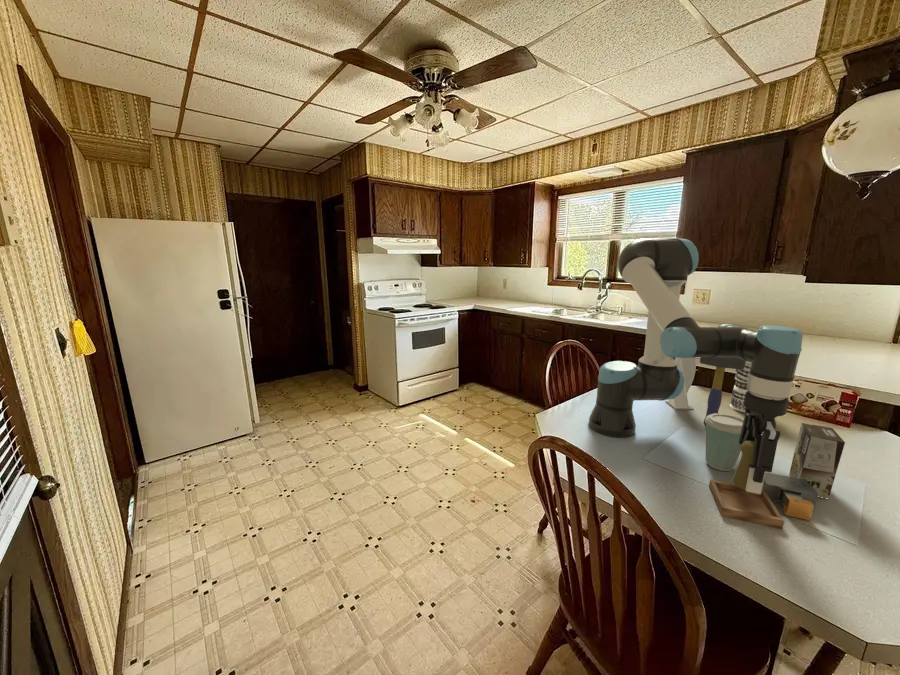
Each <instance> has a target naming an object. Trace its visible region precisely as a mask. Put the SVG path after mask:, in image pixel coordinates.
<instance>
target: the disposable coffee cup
mask: <svg viewBox="0 0 900 675" xmlns="http://www.w3.org/2000/svg"><path fill="white" fill-rule="evenodd" d="M705 417H706V416H705ZM704 419H705V418H704ZM743 421H744V417H740V416H737V415H733V414H729V413H719V412H718V413H714V414H710V415H708V416H707V417H706V419H705V422H706V427H705V461H706V462H707V463H706V464H707V465H708V464H709V465H710V468H711V467H712V468H713V469H716V470H718V469H719V471H723V472H729V471H732V470H733V469H734V468H735V466H736V463H737V461H738V459H739V458H740V454H741V445H742V444H739V438H740V434H741V430H742V425H743ZM709 465H708V466H709Z"/></svg>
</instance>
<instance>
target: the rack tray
mask: <svg viewBox="0 0 900 675" xmlns="http://www.w3.org/2000/svg"><path fill="white" fill-rule="evenodd" d="M708 488H709V490H710V492H711V496H712V498H713V499H714V502H715V503H714V504H715V505H716V507H717V509H718V512H719V514H720V516H723V517H727V518H731V519H734V520H740V521H745V522H749V523H754V524H758V525H761V526H765V527H766V526H767V527H771V528H775V529H780V530H783V527H784V523H785V519H784V518H783V516H782V515H781V514H780V512H779V510H778V509H777V507H776V506H775V504H774V502H772V501H771V499H770V498H769V496H768V495H767V493H766V492H765V491H763V492H761V494H757V493H752V492H747V491H746V490H744V489H742V488H739V487H738V486H736V485H735V484H734V483H729V482H725V481H720V480H715V479H709V484H708Z"/></svg>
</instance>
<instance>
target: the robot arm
mask: <svg viewBox="0 0 900 675" xmlns="http://www.w3.org/2000/svg"><path fill="white" fill-rule="evenodd" d="M698 264H699V251H698V248H697V246H696V245H695V244H694V243H693V241H691V240H689V239H687V238H678V237H676V238H675V237H672V238H665V237H664V238H648V237H647V238H639V239H636V240H633V241H631V242H630V243H628V244H627V245H626V246H624V247H623V249H622V250H621V252H620V254H619V256H618V259H617V268H618V272H619V274H620V276H621V279H623V281H624V282H626V283H627V284H630V285H631V286H632V288H633V289H634V291H635V292H636V294H637V295H638V297H639V298H640V300H641V301H642V303H643V304H644V306H645V307H646V309H647V311H648V312H647V322H646V331H645V333H646V334H645V342H644V352H643V356H641V357H640V358H639V359H638V363H637V364H638V365H637V364H636V363H634V362H631V361H629V360H628V361H627V360H624V361H623V360H613V361H608V362H605V363H603V364H602V365H601V366H600V368H599V373H598V376H597V388H596V400H595V401H596V402H595V405H594V407H593V409H592V411H591V413H590V415H589V416H588V417H589V418H588V426H589V425H590V426H589V427H590V428H591V429H592V430H593V431H595V432H597V433H599V434H601V435H604V436H608V437H613V438H628V437H631V436H633V435H635V433H636V429H637V428H636V427H637V426H636V420H635V416H634V413H633V412H634V411H633V408H634V407H633V406H634V405H633V404H634V401H667V400H668V401H669V400H670V399H674V398H676V397H677V396H679V395H680V393H681V392H682V390H683V387H684V376H682V375H683V372H682V371H681V369H680V368H678V367H677V365H678V363H677V362H676V361H675V358H696V359H697V358H699V359H700V357H735V358H739V359H742V360H745V361H748V362H751V363H752V364H751V369H750V372H749V377H748V382H747V387H746V388H747V390H748V391H747V392H746V394H745V399H744V406H745V407H746V408H745V412H744V417H743V418H744V421H743V425H742V430H741V434H740V438H739V444H742V443H743V442H745V441H755V443H754V456H753V465H751V464H749V467H750V470H749V474H748V479H747V484H746V489H745V490H746V491H747V492H752V493H757V494H761V491H762V486H763V482H764V477H765V473H766V472H767V473H772V472H773V468H774V463H775V462H774V461H775V457H776V453H777V452H776V451H777V446H778V442H779V439H780V437H781V431H780V430H775V429H776V424H777V423H776V418H778V417H782V416H784V415H786V414H787V412H788V408H789V407H788V405H789V402H790V400H789V399H788V398H790V396H791V392H792V387H793V388H794V387H795V385H796V384H795V382H794V380H795V375H796V371H797V366H798V362H799V358H800V356H801V353H802V350H803V349H802V347H803V346H802V344H803V337H804V334H803V332H802V331H801V330H800V329H798V328H796V327H792V326H783V325H778V324H776V325H775V324H773V325H772V324H767V325H765V324H764V325H761V326H760V327H759V328H758V329H757V330H756V329H753V328H750V327H745V326H742V325H740V324H731V323H722V324H720V325H719V326H700V325H699V324H698V322H696V320H695V319H694V318H693V317H692V316H691V314H690V313H689V312H688V310H687V309H686V308H685V306H684V305H683V304H682V302H681V301H680V298H681V287H682V286H683V285H684V284H686V282H688V276H690V275H691V274H694V272H696V269H697V268H698ZM742 454H743V453H742V451H741V452H740V454H739V458H738V459H739V461H738V463H739V462H740V459H741V457H742Z"/></svg>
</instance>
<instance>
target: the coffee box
mask: <svg viewBox="0 0 900 675" xmlns="http://www.w3.org/2000/svg"><path fill="white" fill-rule="evenodd" d="M845 444H846V442H845V441H844V439H843V438H842V437H841V436H840V435H839V434H838V433H837V431H836V430H835V429H834V428H833V427H829V426H822V425H816V424H810V423H809V424H808V423H804V422H801V424H800V428H799V430H798V436H797V439H796V444H795V448H794V452H793V456H792V461H791V464H790V469H789V472H788V477H794V478H799V479H805V480H806V481H807V482H808V483H809V484H810V485H811V486H812V488H813V489H814V490H815V491H816V492H817V494H818V495H817V496H819V497H823V498H828V500H829V498H830V495H831V492H832V489H833V485H834V482H835V478H836V474H837V472H838V471H837V470H838V469H839V468H838V467H839V464H840V462H841V458H842V454H843V451H844V448H845ZM819 497H818V498H819ZM823 498H822V499H823Z"/></svg>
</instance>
